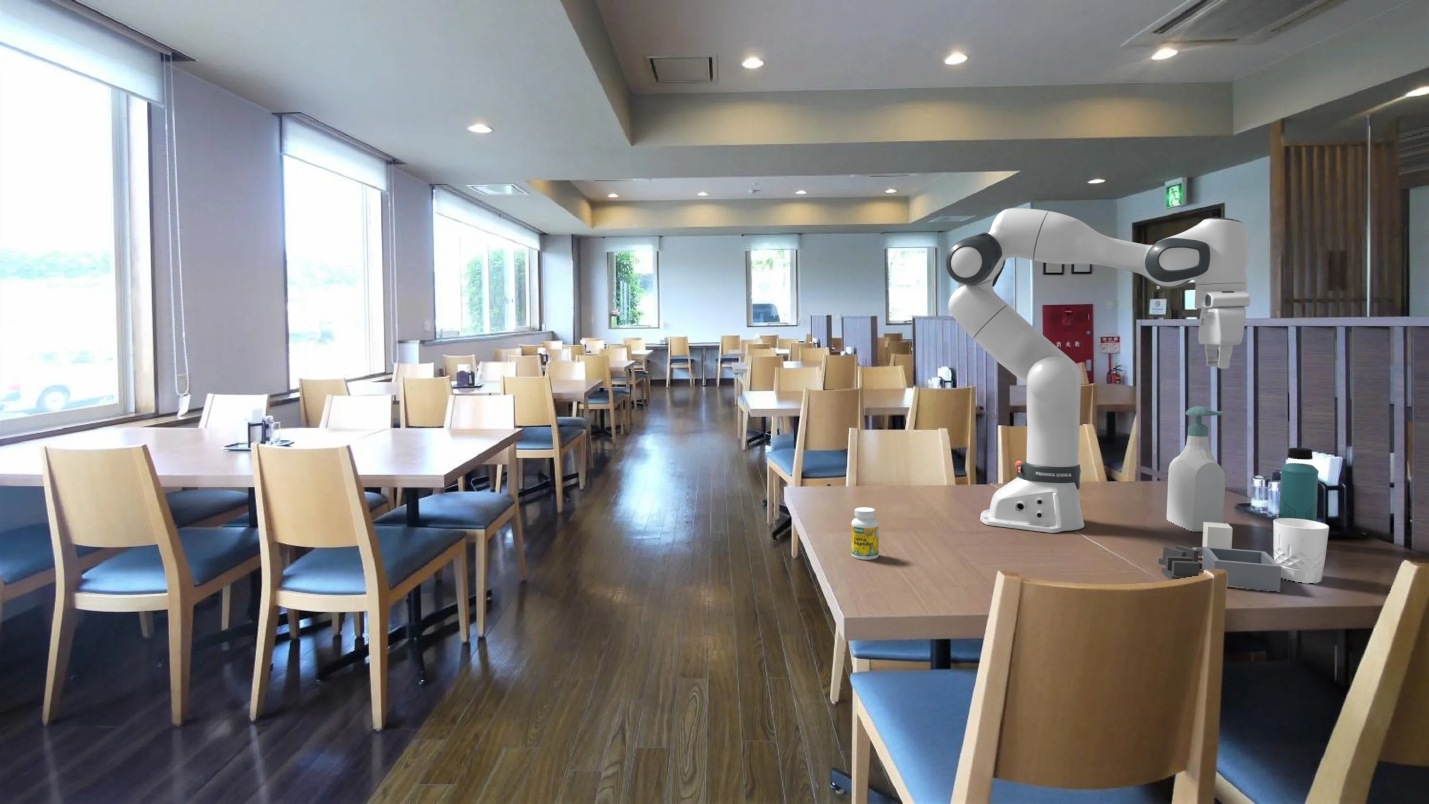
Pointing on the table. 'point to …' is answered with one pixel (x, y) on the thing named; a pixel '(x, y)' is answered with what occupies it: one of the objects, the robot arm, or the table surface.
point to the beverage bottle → (1299, 487)
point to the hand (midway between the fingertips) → (1217, 367)
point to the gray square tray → (1244, 567)
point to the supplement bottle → (865, 534)
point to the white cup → (1300, 548)
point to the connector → (1216, 536)
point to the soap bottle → (1196, 479)
